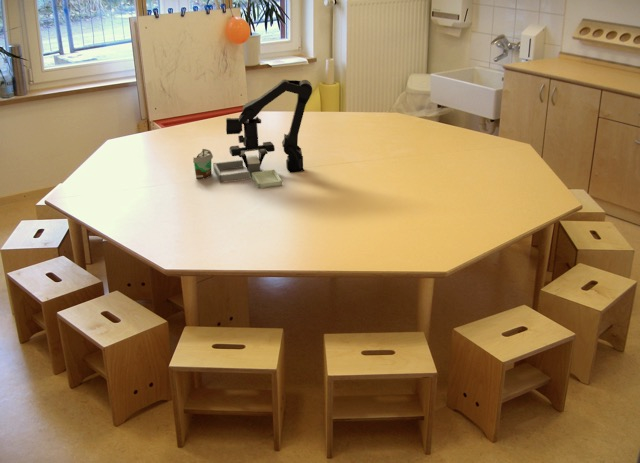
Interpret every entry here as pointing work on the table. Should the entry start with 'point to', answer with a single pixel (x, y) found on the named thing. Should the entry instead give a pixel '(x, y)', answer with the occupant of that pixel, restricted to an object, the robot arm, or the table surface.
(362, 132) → the table surface
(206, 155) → the food container
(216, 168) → the bay
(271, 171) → the tray
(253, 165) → the beige gray rectangular block
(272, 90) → the robot arm
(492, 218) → the table surface
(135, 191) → the table surface
